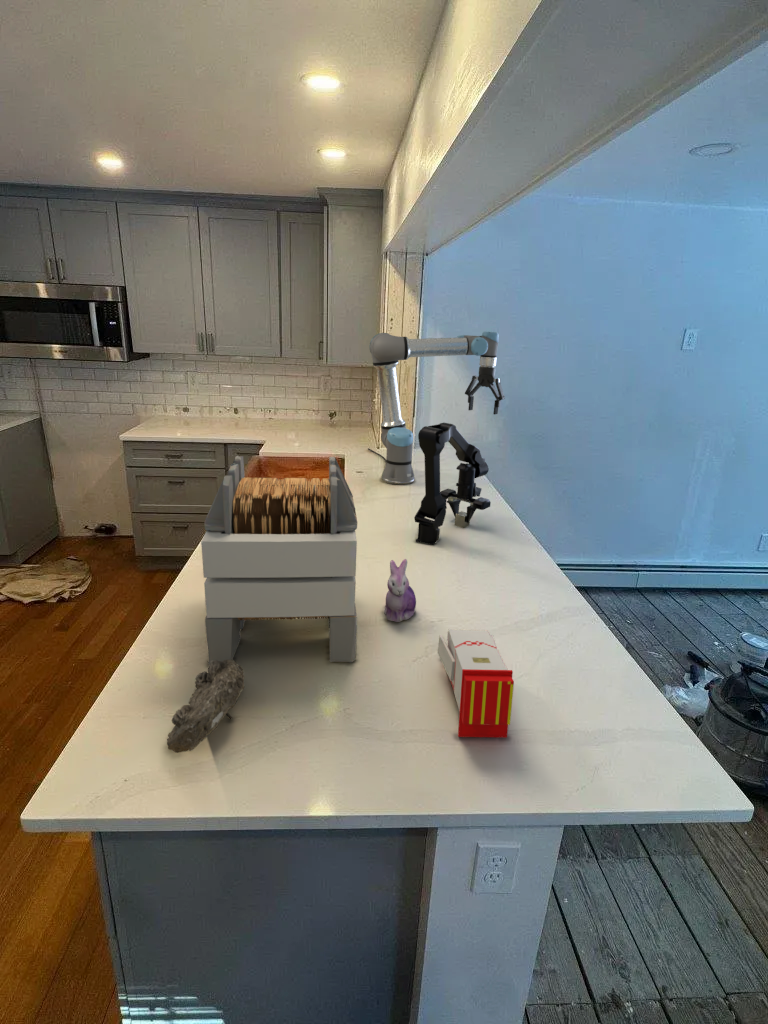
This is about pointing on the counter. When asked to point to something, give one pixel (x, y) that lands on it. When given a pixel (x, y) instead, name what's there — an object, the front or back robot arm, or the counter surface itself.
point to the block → (461, 519)
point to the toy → (478, 682)
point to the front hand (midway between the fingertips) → (462, 520)
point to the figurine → (399, 594)
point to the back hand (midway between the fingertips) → (482, 412)
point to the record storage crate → (280, 557)
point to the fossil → (206, 705)
